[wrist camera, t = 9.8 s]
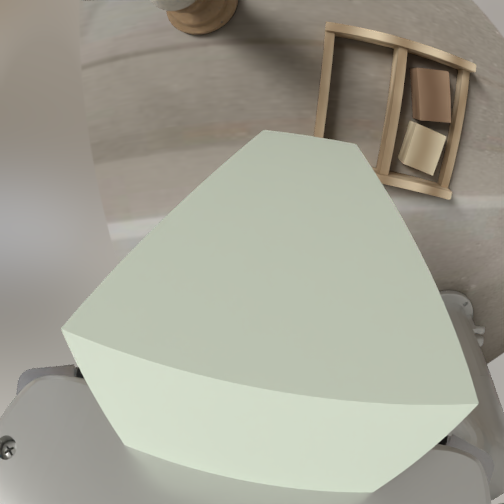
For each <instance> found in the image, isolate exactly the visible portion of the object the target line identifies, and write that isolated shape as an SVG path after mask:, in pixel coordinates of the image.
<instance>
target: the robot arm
mask: <svg viewBox="0 0 504 504" xmlns="http://www.w3.org/2000/svg"><path fill="white" fill-rule="evenodd" d="M439 293H440V295H441V298H442V300H443V302H444V305H445V307H446V309H447V312H448V314H449V317H450V319H451V322H452V324H453V327H454V329H455V332H456V334H457V337H458V340H459V343H460V345H461V348H462V351H463V354H464V357H465V360H466V363H467V366H468V369H469V372H470V375H471V378H472V381H473V385H474V388H475V392H476V395H477V399H478V402H479V404H478V405H477V406H476V407H475V408H474V409H473V410H472V411H471V412H470V413H469V414H468V415H467V416H466V417H465V418H464V419H463V420H462V421H461V422H460V423H459V424H458V425H457V426H456V427H455V428H454V429H453V430H452V431H451V432H450V433H449V434H448V435H447V436H445V437H444V438H443V439H442V440H441V441H440V442H439V443H438V444H436V445H435V446H434V447H433V448H432V449H431V450H429V451H428V452H427V453H426V454H425V455H423V456H422V457H421V458H420V459H418V460H417V461H416V462H415V463H413V464H412V465H411V466H410V467H408V468H407V469H406V470H404V471H403V472H402V473H400V474H399V475H397V476H396V477H395V478H393V479H392V480H390V481H389V482H388V483H386V484H385V485H383V486H382V487H380V488H379V489H377V490H376V491H374V492H332V491H317V490H305V489H296V488H287V487H280V486H273V485H267V484H261V483H255V482H249V481H244V480H239V479H234V478H230V477H225V476H221V475H217V474H213V473H209V472H205V471H201V470H197V469H194V468H190V467H187V466H183V465H180V464H177V463H174V462H170V461H167V460H164V459H161V458H158V457H156V456H153V455H150V454H147V453H144V452H142V451H139V450H136V449H134V448H131V447H129V446H126V445H124V443H123V442H122V440H121V439H120V437H119V436H118V434H117V433H116V431H115V430H114V428H113V427H112V425H111V424H110V422H109V420H108V419H107V417H106V415H105V414H104V412H103V411H102V409H101V407H100V405H99V404H98V402H97V400H96V399H95V397H94V395H93V393H92V391H91V390H90V388H89V386H88V384H87V382H86V380H85V378H84V377H83V375H82V373H81V371H80V369H79V367H75V366H74V364H73V365H64V366H56V367H45V368H33V369H29V370H26V371H25V372H23V373H22V375H21V376H20V378H19V381H18V386H17V396H16V397H15V398H14V400H13V401H12V402H11V403H10V405H9V406H8V407H7V409H6V410H5V412H4V413H3V415H2V416H1V418H0V504H491V500H493V499H495V498H497V497H498V496H500V495H501V494H503V493H504V412H503V409H502V407H501V404H500V401H499V398H498V395H497V392H496V389H495V386H494V383H493V380H492V378H491V375H490V372H489V369H488V366H487V364H486V361H485V358H484V356H483V353H482V351H481V348H480V346H482V345H483V341H484V339H483V336H477V335H475V333H476V334H483V333H484V331H485V327H484V326H475V324H474V322H473V320H472V318H473V307H472V304H471V302H470V300H469V299H468V298H467V296H465V295H464V294H463V293H460V292H458V291H452V290H450V291H441V292H439ZM500 504H504V503H500Z"/></svg>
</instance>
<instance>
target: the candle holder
mask: <svg viewBox="0 0 504 504" xmlns="http://www.w3.org/2000/svg"><path fill="white" fill-rule="evenodd" d="M84 1H92V0H84ZM151 2H152V3H153V4H154V5H155V6H156V7H158V8H160V9H162V10H166V12H167V16H168V18H169V21H170V22H171V23H172V25H173V26H174V27H175V28H177V29H178V30H180V31H182V32H185V33H188V34H195V35H198V34H207V33H210V32H213V31H215V30H217V29H219V28H221V27H222V26H223V25H225V24H226V23H227V22H228V21H229V20H230V19H231V17H232V16H233V14H234V12H235V10H236V7H237V3H238V0H151Z"/></svg>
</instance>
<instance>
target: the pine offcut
mask: <svg viewBox="0 0 504 504" xmlns="http://www.w3.org/2000/svg"><path fill="white" fill-rule="evenodd" d="M445 140H446V136H444V135H442V134H440V133H438V132H435V131H433V130H431V129H429V128H427V127H424V126H422V125H420V124H417V123H415V122H412V121H409V124H408V127H407V131H406V134H405V137H404V140H403V143H402V146H401V150H400V153H399V156H398V159H399V160H400V161H401V162H402V163H403V164H405V165H408V166H410V167H413V168H415V169H418V170H420V171H423V172H425V173H427V174H430V175H432V176H433V174H434V171H435V169H436V166H437V163H438V160H439V157H440V154H441V152H442V149H443V146H444V143H445Z"/></svg>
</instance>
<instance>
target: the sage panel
mask: <svg viewBox="0 0 504 504" xmlns="http://www.w3.org/2000/svg"><path fill="white" fill-rule="evenodd" d="M61 330H62V332H63V335H64V337H65V339H66V342H67V344H68V346H69V348H70V350H71V352H72V354H73V357H74V359H75V361H76V363H77V365H78V367H79V369H80V371H81V373H82V375H83V377H84V378H85V380H86V382H87V384H88V386H89V388H90V390H91V391H92V393H93V395H94V397H95V399H96V400H97V402H98V404H99V405H100V407H101V409H102V411H103V412H104V414H105V415H106V417H107V419H108V420H109V422H110V424H111V425H112V427H113V428H114V430H115V431H116V433H117V434H118V436H119V437H120V439H121V440H122V442H123V443H124V445H126V446H129V447H131V448H134V449H136V450H139V451H142V452H144V453H147V454H150V455H153V456H156V457H158V458H161V459H164V460H167V461H170V462H174V463H177V464H180V465H183V466H187V467H190V468H194V469H197V470H201V471H205V472H209V473H213V474H217V475H221V476H225V477H230V478H234V479H239V480H244V481H249V482H255V483H261V484H267V485H273V486H280V487H287V488H296V489H305V490H317V491H332V492H374V491H376V490H377V489H379V488H380V487H382V486H383V485H385V484H386V483H388V482H389V481H390V480H392V479H393V478H395V477H396V476H397V475H399V474H400V473H402V472H403V471H404V470H406V469H407V468H408V467H410V466H411V465H412V464H413V463H415V462H416V461H417V460H418V459H420V458H421V457H422V456H423V455H425V454H426V453H427V452H428V451H429V450H431V449H432V448H433V447H434V446H435V445H436V444H438V443H439V442H440V441H441V440H442V439H443V438H444V437H445V436H447V435H448V434H449V433H450V432H451V431H452V430H453V429H454V428H455V427H456V426H457V425H458V424H459V423H460V422H461V421H462V420H463V419H464V418H465V417H466V416H467V415H468V414H469V413H470V412H471V411H472V410H473V409H474V408H475V407H476V406H477V405H478V404H479V402H478V399H477V395H476V392H475V388H474V385H473V381H472V378H471V375H470V372H469V369H468V366H467V363H466V360H465V357H464V354H463V351H462V348H461V345H460V343H459V340H458V337H457V334H456V332H455V329H454V327H453V324H452V322H451V319H450V317H449V314H448V312H447V309H446V307H445V305H444V302H443V300H442V298H441V295H440V293H439V291H438V288H437V286H436V284H435V282H434V280H433V278H432V275H431V273H430V271H429V269H428V267H427V265H426V263H425V261H424V259H423V257H422V255H421V253H420V251H419V249H418V247H417V245H416V243H415V241H414V239H413V237H412V235H411V233H410V232H409V230H408V228H407V226H406V224H405V222H404V221H403V219H402V217H401V215H400V213H399V212H398V210H397V208H396V206H395V205H394V203H393V201H392V200H391V198H390V196H389V195H388V193H387V191H386V190H385V188H384V186H383V185H382V183H381V181H380V180H379V178H378V177H377V175H376V173H375V172H374V170H373V169H372V167H371V166H370V164H369V163H368V161H367V160H366V158H365V157H364V155H363V154H362V152H361V151H360V149H359V148H358V146H357V145H356V144H353V143H348V142H343V141H337V140H331V139H326V138H319V137H313V136H307V135H300V134H293V133H285V132H277V131H269V130H263V131H262V132H261V133H259V134H258V135H257V136H256V137H254V138H253V139H252V140H251V141H250V142H248V143H247V144H246V145H245V146H244V147H242V148H241V149H240V150H239V151H238V152H237V153H235V154H234V155H233V156H232V157H231V158H230V159H228V160H227V161H226V162H225V163H224V164H223V165H221V166H220V167H219V168H218V169H217V170H216V171H215V172H214V173H212V174H211V175H210V176H209V177H208V178H207V179H206V180H205V181H203V182H202V183H201V184H200V185H199V186H198V187H197V188H196V189H195V190H194V191H192V192H191V193H190V194H189V195H188V196H187V197H186V198H185V199H184V200H183V201H182V202H181V203H180V204H178V205H177V206H176V207H175V208H174V209H173V210H172V211H171V212H170V213H169V214H168V215H167V216H166V217H165V218H164V219H163V220H162V221H161V222H160V223H159V224H158V225H157V226H156V227H155V228H154V229H153V230H152V231H151V232H150V233H149V234H148V235H146V236H145V237H144V238H143V240H142V241H141V242H140V243H139V244H138V245H137V246H136V247H135V248H134V249H133V250H132V251H131V252H130V253H129V254H128V255H127V256H126V257H125V258H124V259H123V260H122V261H121V262H120V263H119V264H118V265H117V266H116V267H115V269H114V270H113V271H112V272H111V273H110V274H109V275H108V276H107V277H106V278H105V279H104V280H103V281H102V283H101V284H100V285H99V286H98V287H97V288H96V289H95V290H94V291H93V292H92V293H91V295H90V296H89V297H88V298H87V299H86V300H85V301H84V302H83V304H82V305H81V306H80V307H79V308H78V309H77V311H76V312H75V313H74V314H73V315H72V316H71V317H70V319H69V320H68V321H67V322H66V323H65V325H64V326H63V327H62V328H61Z"/></svg>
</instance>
